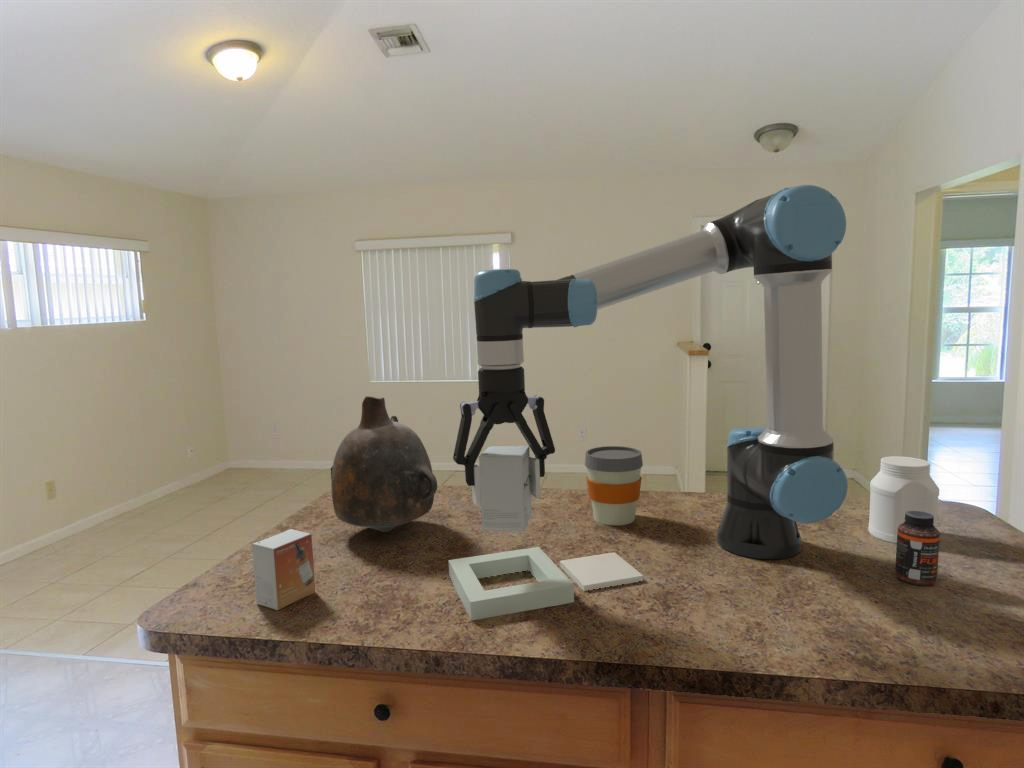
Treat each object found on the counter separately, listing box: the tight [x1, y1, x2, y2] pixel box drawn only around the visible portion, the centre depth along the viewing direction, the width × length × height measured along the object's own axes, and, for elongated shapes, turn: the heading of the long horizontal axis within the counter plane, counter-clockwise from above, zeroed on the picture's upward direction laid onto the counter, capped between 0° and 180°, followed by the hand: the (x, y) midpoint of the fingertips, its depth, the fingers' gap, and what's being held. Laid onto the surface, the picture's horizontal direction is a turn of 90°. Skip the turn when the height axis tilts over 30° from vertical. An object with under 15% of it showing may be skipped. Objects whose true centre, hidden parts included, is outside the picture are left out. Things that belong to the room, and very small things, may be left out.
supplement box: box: [478, 445, 533, 533], centre depth 105 cm, size 7×7×13 cm
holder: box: [447, 546, 575, 622], centre depth 107 cm, size 17×17×3 cm
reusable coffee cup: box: [584, 445, 644, 526], centre depth 139 cm, size 13×13×15 cm
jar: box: [868, 455, 940, 544], centre depth 125 cm, size 12×10×15 cm
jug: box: [330, 395, 438, 533], centre depth 135 cm, size 24×21×30 cm
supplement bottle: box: [894, 511, 941, 587], centre depth 105 cm, size 6×6×11 cm
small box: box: [251, 528, 316, 611], centre depth 106 cm, size 8×6×10 cm
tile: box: [559, 551, 644, 592], centre depth 112 cm, size 11×11×1 cm
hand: (506, 499), depth 105 cm, fingers closed on supplement box, 10 cm apart
